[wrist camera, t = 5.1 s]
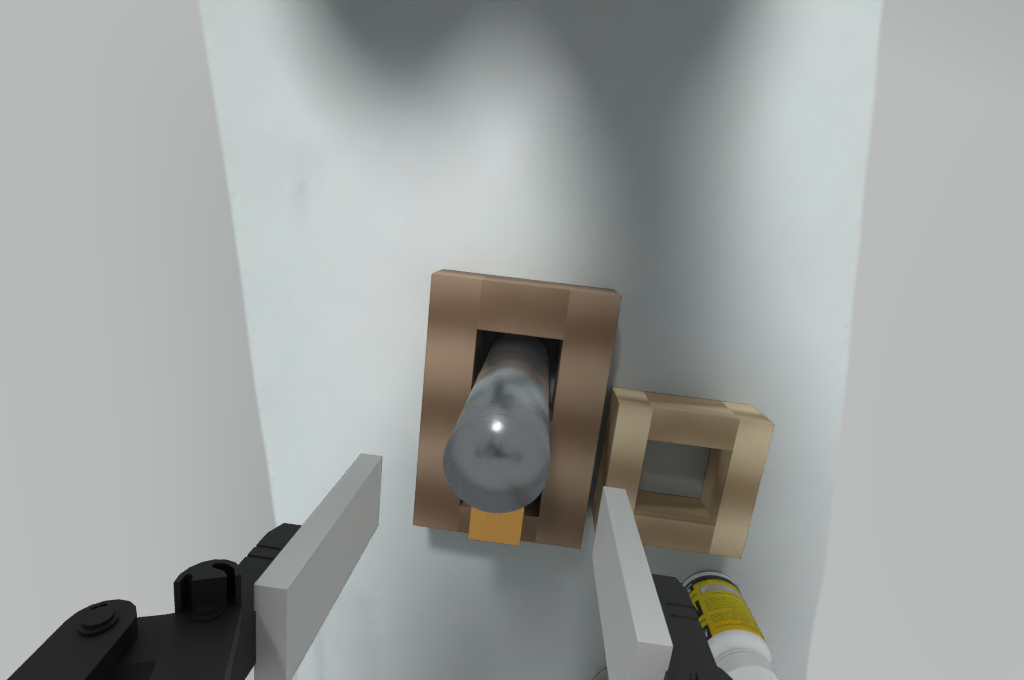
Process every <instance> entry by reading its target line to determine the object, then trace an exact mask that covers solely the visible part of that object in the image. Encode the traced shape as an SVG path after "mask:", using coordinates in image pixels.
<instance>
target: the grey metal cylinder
mask: <svg viewBox="0 0 1024 680" xmlns="http://www.w3.org/2000/svg"><path fill="white" fill-rule="evenodd" d="M443 467H444V473H445V477H446V479H447V481H448V484H449V485H450V487H451V489H452V490H453V491H454V493H455V494H456V495H457V496H458V497H459V498H460V499H461V500H463V501H464V502H465V503H467V504H468V505H470V506H472V507H474V508H476V509H478V510H481V511H485V512H490V513H507V512H512V511H516V510H519V509H521V508H523V507H525V506H527V505H528V504H530V503H531V502H533V501H534V500H535V499H536V498H537V497H538V496H539V495H540V493H541V492H542V491H543V489H544V487H545V485H546V483H547V480H548V476H549V470H550V440H549V361H548V354H547V351H546V349H545V347H544V346H543V344H542V343H541V342H540V341H539V340H538V339H537V338H535V337H534V336H528V335H520V334H512V333H509V334H506V335H504V336H502V337H500V338H499V339H498V340H497V341H496V342H495V343H494V344H493V346H492V347H491V349H490V351H489V354H488V356H487V358H486V360H485V362H484V364H483V367H482V369H481V371H480V373H479V375H478V377H477V380H476V382H475V384H474V386H473V388H472V390H471V393H470V395H469V397H468V399H467V401H466V404H465V406H464V408H463V410H462V412H461V414H460V417H459V419H458V421H457V423H456V425H455V427H454V430H453V432H452V434H451V436H450V438H449V440H448V443H447V445H446V448H445V451H444V456H443Z"/></svg>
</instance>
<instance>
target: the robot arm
mask: <svg viewBox="0 0 1024 680" xmlns="http://www.w3.org/2000/svg"><path fill="white" fill-rule="evenodd" d="M381 473H382V456H377V455H369V454H362V453H361V454H360V455H359V457H358V458H357V459H356V460H355V462H354V463H353V464H352V465H351V466H350V468H349V469H348V470H347V471H346V473H345V474H344V475H343V476H342V477H341V479H340V480H339V481H338V482H337V484H336V485H335V486H334V487H333V488H332V490H331V491H330V492H329V493H328V495H327V496H326V497H325V498H324V499H323V501H322V502H321V503H320V504H319V506H318V507H317V508H316V509H315V510H314V512H313V513H312V514H311V515H310V517H309V518H308V519H307V520H306V521H305V523H304V524H303V525H295V524H288V523H283V524H282V525H280V526H278V527H276V528H275V529H273V530H271V531H270V532H268V533H267V534H266V535H265V536H264V537H263V538H262V539H261V541H260V542H259V543H258V544H257V546H256V547H254V548H253V549H252V551H251V552H250V553H249V554H248V556H247V557H245V558H244V559H243V560H242V561H241V563H240V564H239V565H237V563H235V562H233V561H229V560H217V559H215V560H210V561H205V562H201V563H199V564H197V565H194V566H192V567H189V568H188V569H187V570H185V571H184V572H183V573H181V574H180V575H179V576H178V577H177V579H176V580H175V582H174V601H175V613H172V614H166V615H157V616H147V617H138V618H137V612H136V606H135V605H134V604H133V603H131V602H130V601H125V600H120V599H118V600H108V601H103V602H100V603H97V604H93V605H91V606H89V607H87V608H84V609H82V610H80V611H79V612H77V613H76V614H74V615H73V616H71V617H70V618H69V619H68V620H66V621H65V622H64V623H63V624H62V625H61V626H60V627H59V628H58V629H57V630H56V631H55V632H54V633H53V634H52V635H51V636H50V637H49V638H48V639H47V640H46V641H45V642H44V643H43V644H42V645H41V646H40V647H39V648H38V649H37V650H36V651H35V652H34V653H33V654H32V655H31V656H30V657H29V658H28V659H27V660H26V661H25V662H24V663H23V664H22V665H21V666H20V667H19V668H18V669H17V670H16V671H15V672H14V673H13V674H12V675H11V676H10V677H9V678H8V679H7V680H245V678H246V677H247V675H248V674H249V672H250V671H251V669H252V668H253V666H254V678H255V679H254V680H292V678H293V676H294V674H295V673H296V671H297V669H298V667H299V666H300V664H301V662H302V660H303V658H304V657H305V655H306V653H307V651H308V650H309V648H310V646H311V644H312V642H313V641H314V639H315V637H316V635H317V634H318V632H319V630H320V628H321V626H322V625H323V623H324V621H325V619H326V618H327V616H328V614H329V612H330V610H331V609H332V607H333V605H334V603H335V602H336V600H337V598H338V596H339V594H340V593H341V591H342V589H343V587H344V586H345V584H346V582H347V580H348V579H349V577H350V575H351V573H352V571H353V570H354V568H355V566H356V564H357V563H358V561H359V559H360V557H361V555H362V554H363V552H364V550H365V548H366V547H367V545H368V543H369V541H370V539H371V538H372V536H373V534H374V532H375V531H376V529H377V527H378V525H379V508H380V490H381ZM592 562H593V569H594V576H595V583H596V590H597V598H598V605H599V612H600V619H601V627H602V634H603V641H604V648H605V655H606V663H607V670H608V677H609V680H733V679H732V678H731V677H730V676H729V675H728V674H727V673H726V672H725V671H724V670H723V669H721V668H719V667H718V666H717V665H716V662H715V659H714V657H713V654H712V652H711V649H710V647H709V644H708V641H707V639H706V636H705V634H704V631H703V629H702V626H701V624H700V622H699V620H698V619H699V618H698V616H697V613H696V611H695V609H694V606H693V603H692V600H691V598H690V595H689V593H688V591H687V590H686V589H685V587H684V586H683V585H682V584H681V583H680V582H679V581H678V580H677V578H676V577H669V576H662V575H655V574H651V572H650V568H649V565H648V562H647V559H646V555H645V552H644V549H643V545H642V542H641V539H640V535H639V532H638V529H637V526H636V522H635V519H634V516H633V512H632V509H631V506H630V502H629V499H628V496H627V493H626V489H620V488H612V487H605V486H603V492H602V497H601V503H600V509H599V515H598V521H597V527H596V533H595V539H594V544H593V550H592Z"/></svg>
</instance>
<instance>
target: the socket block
mask: <svg viewBox="0 0 1024 680" xmlns="http://www.w3.org/2000/svg"><path fill="white" fill-rule="evenodd" d="M620 303H621V296H620V295H619V294H618V293H617V292H616V291H615V290H612V289H604V288H595V287H587V286H579V285H570V284H562V283H554V282H545V281H537V280H528V279H520V278H512V277H503V276H495V275H487V274H478V273H470V272H462V271H453V270H445V269H442V270H440V271H437V272H435V273H432V277H431V290H430V304H429V317H428V330H427V344H426V357H425V370H424V383H423V397H422V410H421V423H420V437H419V450H418V463H417V476H416V490H415V503H414V516H413V525H415V526H422V527H429V528H436V529H443V530H450V531H458V532H465V533H469V526H470V516H471V507H472V506H470V505H468V504H467V503H465V502H464V501H463V500H461V499H460V498H459V497H458V496H457V495H456V494H455V493H454V491H453V490H452V489H451V487H450V485H449V484H448V481H447V479H446V477H445V473H444V467H443V456H444V451H445V448H446V445H447V443H448V440H449V438H450V436H451V434H452V432H453V430H454V427H455V425H456V423H457V421H458V419H459V417H460V414H461V412H462V410H463V408H464V406H465V404H466V401H467V399H468V397H469V395H470V393H471V390H472V388H473V386H474V384H475V382H476V380H477V377H478V370H479V360H480V350H481V340H482V330H488V331H496V332H504V333H512V334H520V335H528V336H536V337H544V338H552V339H560V346H559V353H558V360H557V367H556V375H555V382H554V389H553V396H552V403H549V440H550V470H549V476H548V480H547V483H546V485H545V487H544V489H543V491H542V492H541V493H540V495H539V496H538V497H537V498H536V499H535V500H534V501H533V502H531V503H530V504H528V505H527V506H525V507H524V514H523V521H522V529H521V537H520V540H521V541H528V542H536V543H543V544H550V545H557V546H564V547H571V548H578V549H580V548H581V542H582V535H583V529H584V523H585V517H586V511H587V505H588V499H589V493H590V487H591V480H592V474H593V468H594V462H595V456H596V450H597V444H598V438H599V432H600V425H601V419H602V413H603V407H604V401H605V395H606V389H607V383H608V376H609V370H610V364H611V358H612V352H613V346H614V340H615V334H616V328H617V321H618V315H619V309H620Z"/></svg>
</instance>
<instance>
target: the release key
mask: <svg viewBox="0 0 1024 680" xmlns="http://www.w3.org/2000/svg"><path fill="white" fill-rule="evenodd" d="M523 514H524V507H523V508H521V509H519V510H516V511H512V512H507V513H490V512H485V511H481V510H478V509H476V508H474V507H471V516H470V526H469V535H468V539H474V540H481V541H488V542H495V543H503V544H510V545H517V546H519V544H520V537H521V529H522V521H523Z"/></svg>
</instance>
